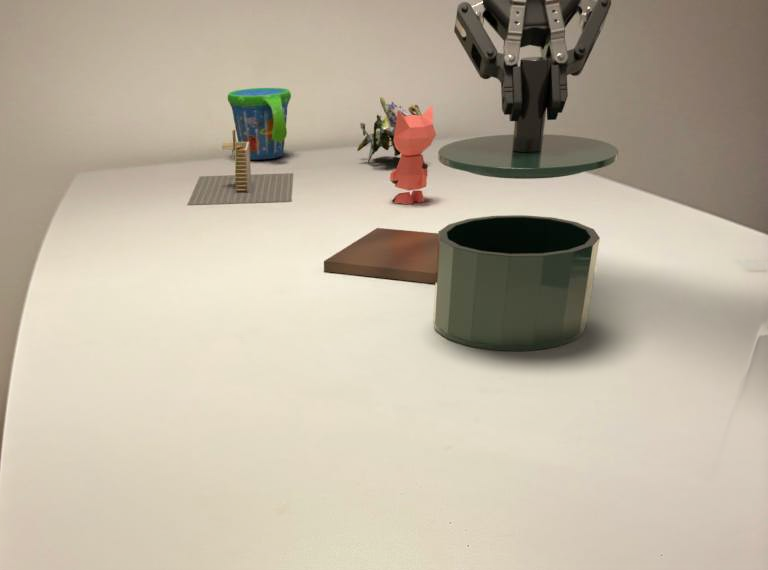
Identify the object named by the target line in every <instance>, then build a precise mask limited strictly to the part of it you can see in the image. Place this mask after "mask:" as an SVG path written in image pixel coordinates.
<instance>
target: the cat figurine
mask: <svg viewBox="0 0 768 570" xmlns="http://www.w3.org/2000/svg"><path fill="white" fill-rule="evenodd" d="M433 110H434V109H433V104H432V105H430V107H428V108H427V110H425V112H423V114H422V116H418V115H412V114H411V115H410V114H408V116H405V117H404V116H403V115H402V114H401V112H400V111H399V110H398V113H397V119H396V126H395V130H394V139H393V140H391V139H390V140H386V141H389V142H391V141H394V144H395V148H396V149H397V150H398V151H399V152H400V158H399V160H398V163H397V166H396V169H395V168H394V169H393V170H392V171H391V172H390V175H389V176H390V177H389V182H391V183H392V184H394V187H395V188H397V189H401V190H404V191H405V190H406V192H399V193H398V194H396V195H395V196H394V197H393V198H392V200H391V202H392V201H393V202H394V204H398V203H402V204H401V205H412V203H413V204H414V202H415V201H417V202H416V203H423V202H425V198H424V194H423V191H422V190H421V189H424V188H426V187H427V183H428V182H427V181H428V168H429V165H428V164H427V163H426V162H425V160H424V159H425V158H424V155H423V154H422V153H424V152H425V151H426V150H427V149H428V148H429V147H431V145H432V143H433V142H434V140H435V138H436V136H437V133H436V130H435V127H434V117H433V116H434V111H433ZM394 144H389V146H388V147H387V148H389V149H390V148H391V147H393V146H392V145H394ZM387 148H386V149H387ZM410 191H412V192H410ZM421 201H422V202H421ZM393 202H392V203H393Z"/></svg>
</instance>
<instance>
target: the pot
mask: <svg viewBox="0 0 768 570" xmlns="http://www.w3.org/2000/svg"><path fill="white" fill-rule="evenodd" d="M437 233H438V249H437V266H436V283H435V284H434V285H435V286H434V301H433V302H434V303H433V326H434V329H435V331H436V332H437V333H438V334H440V336H442V337H444V338H446V339H448V340H450V341H452V342H455V343H458V344H461V345H464V346H468V347H473V348H476V349H484V350H492V351H504V352H511V351H512V352H521V351H522V352H524V351H525V352H527V351H538V350H547V349H551V348H556V347H560V346H563V345H566V344H569V343H571V342H573V341H575V340H577V339H578V338H580V337H581V336H582V334H583V333H584V331H585V326H586V325H587V322H588V316H589V309H590V303H591V297H592V290H593V284H594V278H595V271H596V266H597V265H596V264H597V260H598V259H597V258H598V252H599V246H600V240H601V238H600V236H599V234H598V233H597V232H596V230H595V229H594V228H592V227H590V226H587V225H584V224H582V223H580V222H577V221H573V220H568V219H562V218H559V217H552V216H551V217H550V216H538V215H537V216H536V215H525V214H521V215H519V214H517V215H515V214H512V215H490V216H481V217H474V218H467V219H463V220H460V221H456V222H453V223H448V224H447V225H446V226H444V227H443V228H442V229H440V230H439V231H438V232H437Z"/></svg>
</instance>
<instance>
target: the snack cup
mask: <svg viewBox="0 0 768 570" xmlns="http://www.w3.org/2000/svg"><path fill="white" fill-rule="evenodd" d="M291 98H292V93H291V91H290V89H288V88H283V87H253V88H252V87H251V88H244V89H237V90H233V91H229V93H228V94H227V101H228V103H229V106H230V107H231V110H232V115H233V122H234V128H235V133H236V139H237V142H249V151H250V161H252V160H253V161H258V160H259V161H263V160H273V159H277V158H279V157H281V156H283V155H284V151H285V140H286V138H287V133H288V131H287V119H288V106H289V102H290V100H291Z"/></svg>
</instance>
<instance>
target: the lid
mask: <svg viewBox="0 0 768 570" xmlns="http://www.w3.org/2000/svg"><path fill="white" fill-rule="evenodd" d="M519 61H520V62H519V66H521V81H522V109H521V113H520V117H519V120H518V121H514V123H513V124H514V125H513V134H499V135H498V134H497V135H487V136H479V137H472V138H466V139H461V140H457V141H453V142H450V143H447V144H445V145H443V146H442V147H440V148H439V149H438V153H437V160H438V162H439V163H440V164H442V165H443V166H446V167H448V168H451V169H453V170H458V171H461V172H467V173H470V174H474V175H478V176H483V177H489V178H497V179H515V180H518V179H519V180H538V179H552V178H562V177H569V176H574V175H578V174H582V173H585V172H592V171H595V170H599V169H600V170H601V169H603V168H605V167H608V166H611V165H612V164H614V163H616V162H617V160H618V157H619V149H618V147H616V146H615V145H614V144H611V143H609V142H606V141H603V140H600V139H599V140H598V139H594V138H589V137H582V136H574V135H573V136H572V135H565V134H563V135H562V134H547V133H546V134H545V124H546V118H547V99H548V90H549V81H550V72H551V63H552V58H549V57H541V56H528V57H522V58H520V60H519Z"/></svg>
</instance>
